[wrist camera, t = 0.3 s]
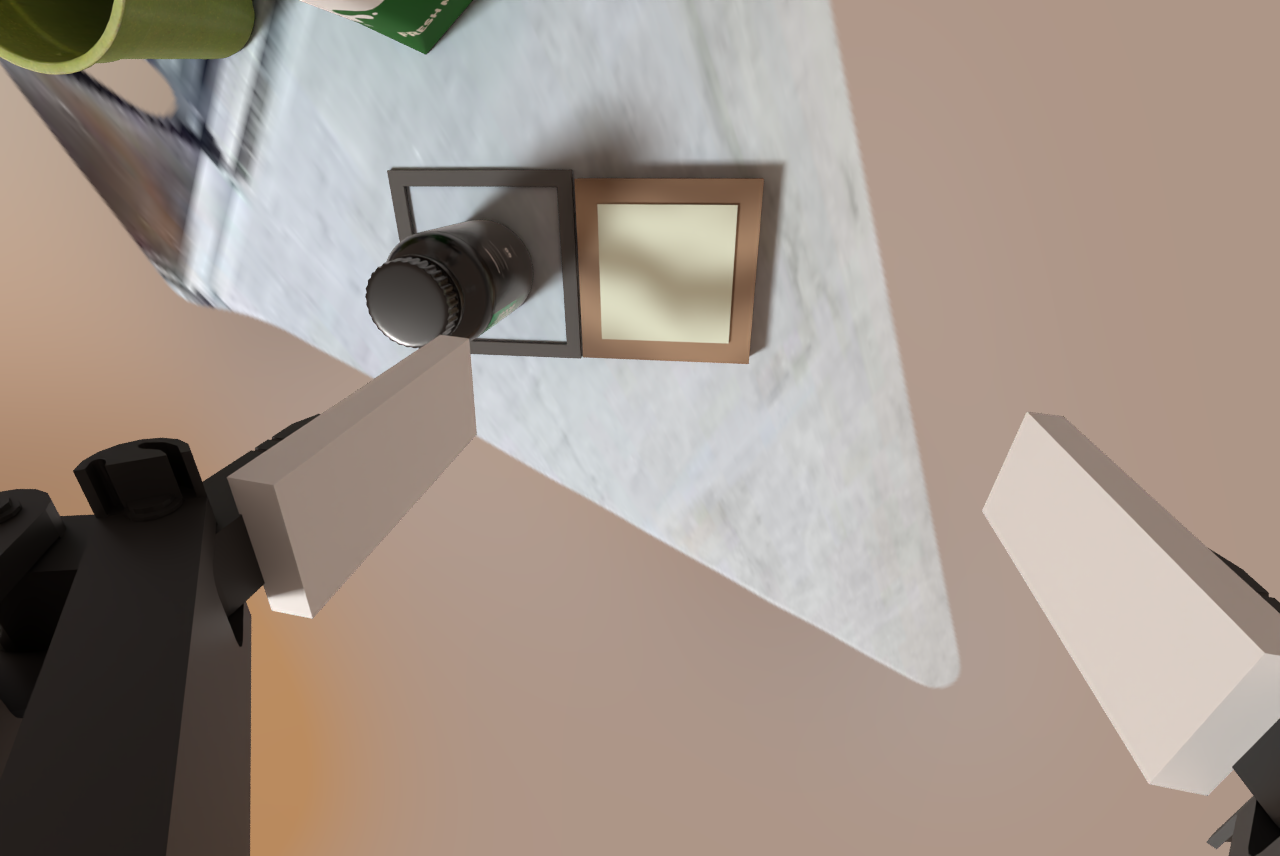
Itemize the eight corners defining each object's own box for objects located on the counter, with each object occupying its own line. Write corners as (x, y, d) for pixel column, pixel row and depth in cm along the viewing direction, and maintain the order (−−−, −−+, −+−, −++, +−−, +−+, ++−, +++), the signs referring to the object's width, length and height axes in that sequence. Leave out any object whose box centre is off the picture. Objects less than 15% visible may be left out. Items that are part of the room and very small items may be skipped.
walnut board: (579, 178, 38) (573, 179, 36) (762, 178, 36) (764, 179, 35) (587, 351, 43) (582, 358, 41) (747, 357, 41) (748, 364, 40)
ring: (389, 170, 39) (387, 170, 39) (571, 170, 37) (570, 170, 37) (421, 350, 45) (419, 351, 44) (581, 357, 43) (580, 358, 43)
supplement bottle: (549, 300, 41) (487, 349, 31) (468, 324, 43) (383, 378, 32) (514, 205, 39) (433, 222, 28) (429, 234, 41) (323, 261, 30)
